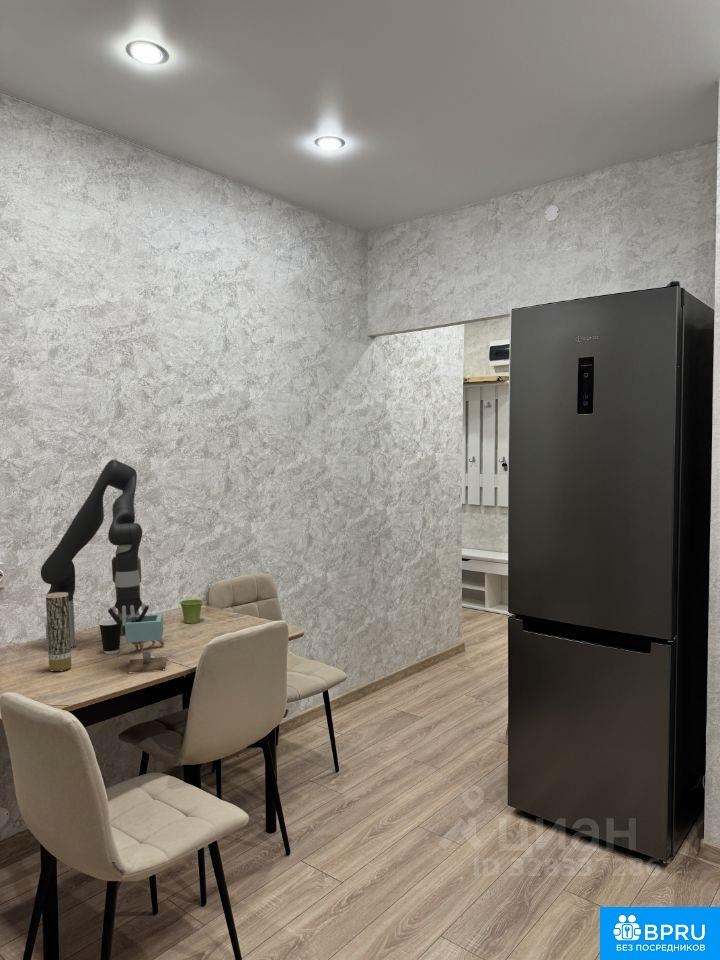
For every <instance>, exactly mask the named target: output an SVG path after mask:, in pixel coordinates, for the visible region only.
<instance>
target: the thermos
mask: <svg viewBox="0 0 720 960" xmlns="http://www.w3.org/2000/svg"><path fill="white" fill-rule="evenodd" d="M131 546H132V545H116V549H115V556H113V557H112V559H111V574H112V575H111V576H112V582H114V588H115V590H116V581H115V576H116V564H115V557H116V555H117V554H118V553H121V552H124V551H127V550H129V549H130V548H131ZM138 572H139V579H140V583H141V582H142V563H141V558H140V557H139V555H138ZM139 610H140V609H139ZM139 610H138V611H137V612H136V616H139V615H141V613H140V611H139ZM116 614H117V615H118V616H119V618H120V619H121V620H122V614H121V613H120V612H119V611H118V610H117V613H116ZM129 616H131V615H127V619H128V617H129ZM120 637H125V635H123V626H122V625H121V635H120Z"/></svg>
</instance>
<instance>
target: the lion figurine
mask: <svg viewBox="0 0 720 960" xmlns="http://www.w3.org/2000/svg"><path fill="white" fill-rule="evenodd" d="M156 641H157V643H160V645H159V648H161V647H162V648H164V644H165V643H164V642H163V638H162V639H161V640H152V641H151V645H149V646H148V647H149V648H153V647H154V646H155V644H156ZM148 642H149V641H140V642H130V643H131V645H133V646H134V647H135V649H134V651H133V652H134V653H136V652H138V653H139V654H140V653H141V652H142V653H144V648H143V647H144V643H148ZM142 653H141V654H142Z"/></svg>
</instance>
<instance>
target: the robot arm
mask: <svg viewBox="0 0 720 960" xmlns="http://www.w3.org/2000/svg"><path fill="white" fill-rule="evenodd" d="M137 479H138V475H137V471H136V469H135V468H133V467H131V466H130V465H128V464H126V463H123V462H121V461H119V460H117V459H111V460H109V461H108V462H107V463H106V465H105V466H104V467H103V469H102V471H101V473H100V474H99V476H98V479H96V482H95V484H94V486H93V488H92V490H91V491H90V492H89V495H88V496H87V498H86V500H84V503H83V504H82V506H81V507H80V509H79V510H78V511H77V513H76V514H75V517H74V518H73V519H72V521H71V523H70V524H69V526H68V527H67V530H66V531H65V533H64V535H63V536H62V538H61V540H60V541H59V543H58V545H57V546H56V547H55V548H54V550H53V551H52V553H51V554H50V555H49V556H48V558H47V559H46V560H45V561H44V562H43V564H42V565H41V568H40V578H41V580H42V581H43V582H44V583H45V584H48V585H50V586H49V587H50V588H49V590H48V591H47V593H46V595H47V594H50V593H57V592H67V593H68V599H69V622H70V644H71V647H72V648H74V647H75V646H76V630H75V629H76V627H75V624H76V623H75V609H74V608H75V607H74V606H75V605H74V604H75V603H74V594H75V592H76V569H75V568H76V567H75V564H74V562H73V560H74V558H75V557H76V556H77V554H78V553H79V552H80V551H81V550H82V549H83V548H84V547H85V546H87V545H88V543H89V542H90V541H91V540H92V539H93V538H94V537H95V536H96V534H97V532H98V531H99V529H100V528H101V526H102V525H103V523H104V518H105V514H104V513H105V512H104V511H105V510H104V509H105V508H104V495H105V492H106V490H107V488H108V487H112V488H114V489H117V490H118V491H119V490H120V491H121V492H122V494H120V495H119V496H118V497H117V498H116V499H115V500H114V501H113V504H112V510H111V511H112V520H111V521H112V522H111V524H110V526H109V529H108V532H107V533H108V534H107V537H108V538H107V539H108V540H109V542H110V544H111V545H113V546H119V545H132V546H131V548H130V549H129V550H127V551H124V552H121V553H118V554H117V555H116V554H115V556H114V557H115V564H116V576H115V581H116V589H115V597H116V600H115V602H114V605H113V606H112V607H109V609H108V610H107V612H108V614H109V615H110V616H111V619H114V620H115V622H116V623H117V624H120V625H122V626H123V635H125V623H126V621H127V615H131V619H132V623H134V622H141V621H142V619H143V618H144V616H145V615H147V612H148V610H149V609H150V606H149V604H145V603H143V600H142V598H141V582H140V579H139V572H138V556H139V549H140V545H141V541H142V537H143V528H142V526H141V525H140V524H139V523H137V522H135V520H136V516H135V503H134V502H135V496H136V489H137ZM140 608H141V609H140ZM138 610H141V611H142V612H141V613H140V617H139V618H138V619H136V612H137V611H138ZM118 611H119V612H120V613H121V614H122V620H121V619H120V618H119V616H118V615H117V614H118V613H117V612H118ZM45 638H46V639H45V640H46V650H47V649H48V634H47V623H46V624H45ZM124 638H126V636H124ZM73 646H74V647H73Z"/></svg>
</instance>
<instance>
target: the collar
mask: <svg viewBox="0 0 720 960" xmlns="http://www.w3.org/2000/svg"><path fill="white" fill-rule="evenodd" d="M140 615H141V614H140ZM140 615H139V616H136V619H138V618H139V617H140ZM163 615H164V614H163V613H156V614H145V616H144V618H143V619H142V621H141V622H134V623H132V619H131V616H129V617H128V619H127V621H126V623H125V636H126V637H125V636H124V637H125V643H128V644H129V643H131V642H140V641H148V642H150V641H151V642H152V640H155V641H156V640H161V639H162V640H163V633H164V619H163V617H164V616H163Z"/></svg>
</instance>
